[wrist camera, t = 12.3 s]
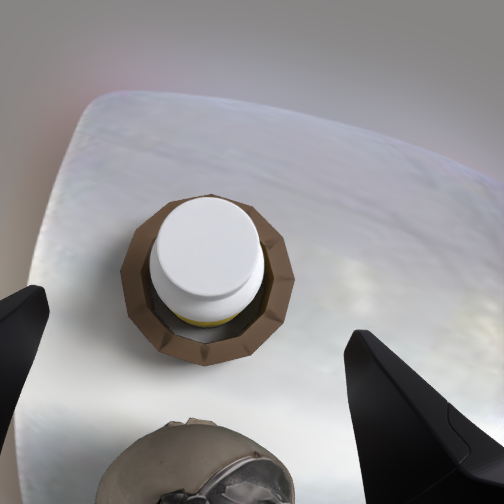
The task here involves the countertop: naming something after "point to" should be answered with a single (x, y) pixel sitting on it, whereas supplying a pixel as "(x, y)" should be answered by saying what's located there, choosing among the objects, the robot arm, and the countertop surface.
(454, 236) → the countertop surface
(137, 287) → the walnut ring socket
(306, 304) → the countertop surface
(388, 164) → the countertop surface
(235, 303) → the supplement bottle
